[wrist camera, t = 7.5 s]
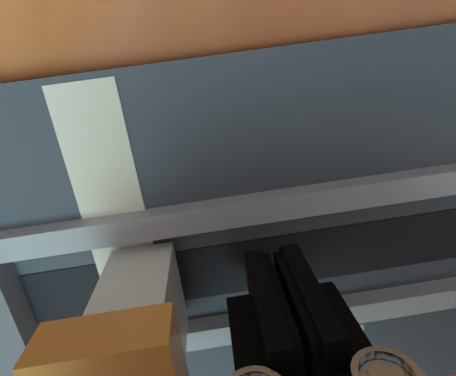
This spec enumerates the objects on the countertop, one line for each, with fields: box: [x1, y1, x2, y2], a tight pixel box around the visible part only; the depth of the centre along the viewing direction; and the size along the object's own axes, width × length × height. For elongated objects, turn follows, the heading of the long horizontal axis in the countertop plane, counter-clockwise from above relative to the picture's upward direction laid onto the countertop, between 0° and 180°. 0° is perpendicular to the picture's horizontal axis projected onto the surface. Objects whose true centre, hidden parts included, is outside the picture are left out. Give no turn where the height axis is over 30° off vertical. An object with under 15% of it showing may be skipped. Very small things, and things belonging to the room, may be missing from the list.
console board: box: [0, 23, 456, 376], centre depth 12 cm, size 22×14×2 cm, turn 97°
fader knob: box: [12, 242, 189, 376], centre depth 9 cm, size 3×4×5 cm, turn 7°
